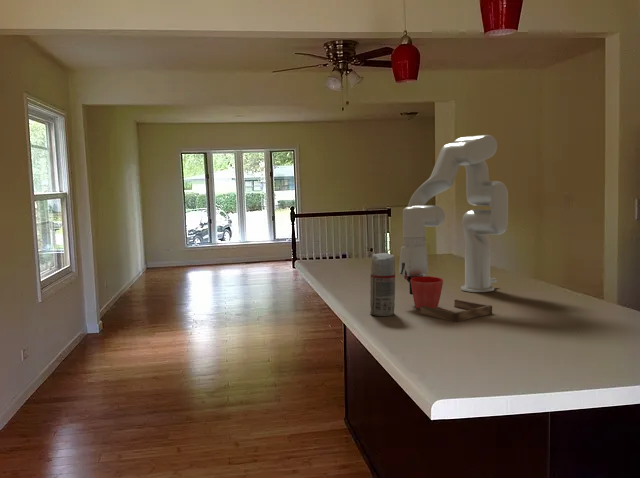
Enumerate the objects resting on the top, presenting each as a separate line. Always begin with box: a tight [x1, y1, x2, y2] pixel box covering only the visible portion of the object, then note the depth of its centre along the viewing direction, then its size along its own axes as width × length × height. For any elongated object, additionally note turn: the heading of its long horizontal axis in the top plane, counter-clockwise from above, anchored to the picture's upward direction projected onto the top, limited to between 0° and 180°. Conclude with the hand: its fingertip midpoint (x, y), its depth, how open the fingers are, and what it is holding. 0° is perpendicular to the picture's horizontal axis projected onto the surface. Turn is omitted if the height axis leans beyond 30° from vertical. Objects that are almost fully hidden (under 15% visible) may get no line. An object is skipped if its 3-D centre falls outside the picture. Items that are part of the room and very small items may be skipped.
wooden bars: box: [420, 298, 493, 323], centre depth 187 cm, size 17×15×2 cm
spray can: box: [369, 252, 396, 317], centre depth 188 cm, size 8×8×20 cm
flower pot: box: [410, 275, 444, 310], centre depth 196 cm, size 11×11×10 cm
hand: (414, 294), depth 202 cm, fingers closed
